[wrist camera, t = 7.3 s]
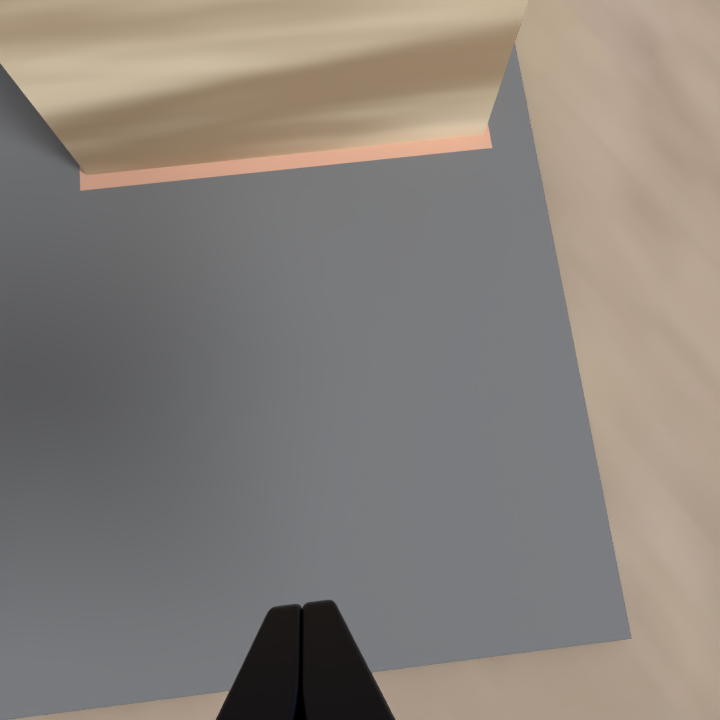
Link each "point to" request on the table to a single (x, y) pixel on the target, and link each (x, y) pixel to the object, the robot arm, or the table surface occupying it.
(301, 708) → the robot arm
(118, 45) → the t block
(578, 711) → the table surface
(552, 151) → the table surface
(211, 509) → the mat
